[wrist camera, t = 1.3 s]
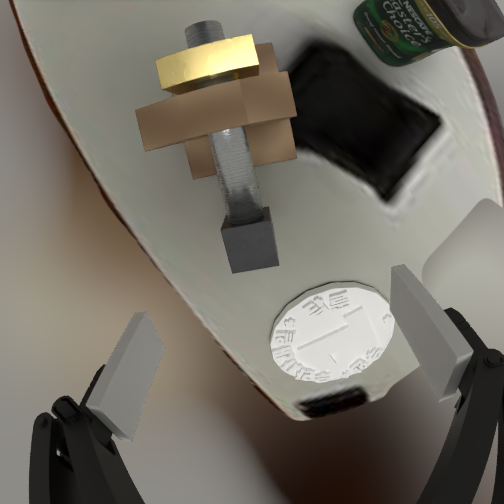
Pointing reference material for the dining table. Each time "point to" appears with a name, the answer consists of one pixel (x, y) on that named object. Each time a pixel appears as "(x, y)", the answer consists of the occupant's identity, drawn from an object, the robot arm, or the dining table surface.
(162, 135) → the bracket
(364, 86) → the dining table surface
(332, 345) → the giant coin
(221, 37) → the shaft
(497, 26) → the coffee jar
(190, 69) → the spacer
